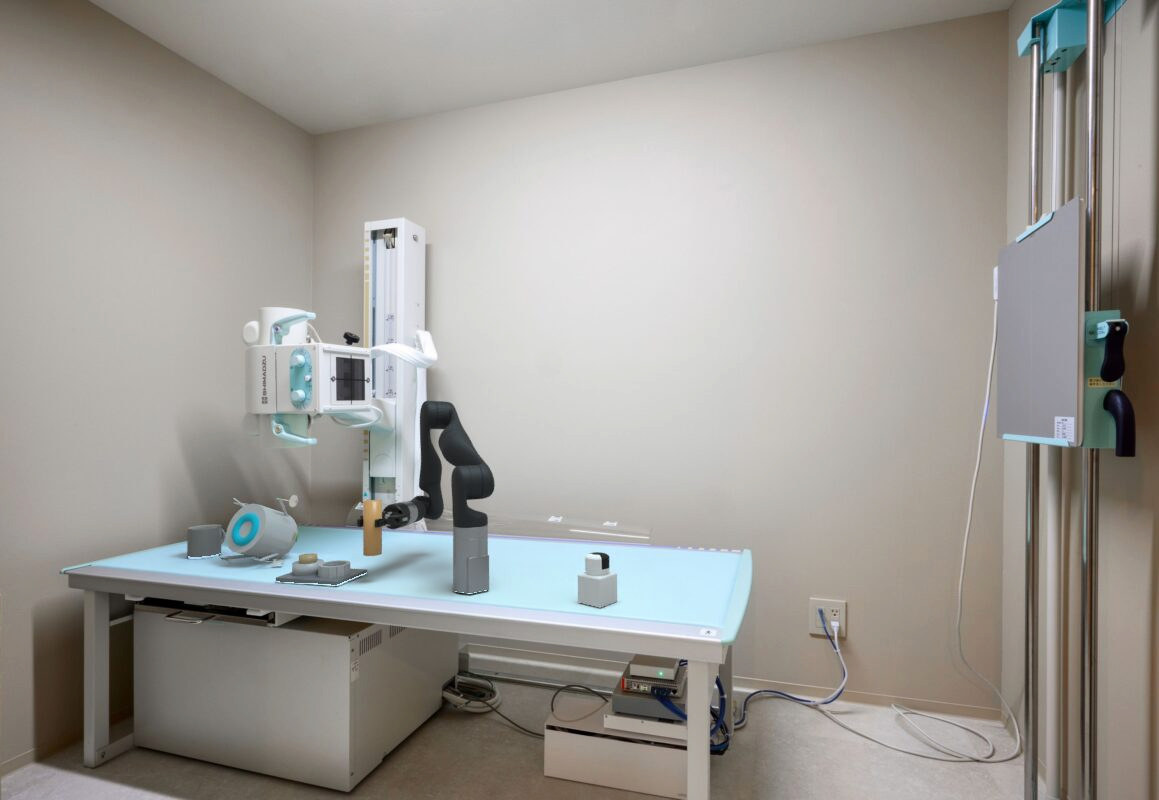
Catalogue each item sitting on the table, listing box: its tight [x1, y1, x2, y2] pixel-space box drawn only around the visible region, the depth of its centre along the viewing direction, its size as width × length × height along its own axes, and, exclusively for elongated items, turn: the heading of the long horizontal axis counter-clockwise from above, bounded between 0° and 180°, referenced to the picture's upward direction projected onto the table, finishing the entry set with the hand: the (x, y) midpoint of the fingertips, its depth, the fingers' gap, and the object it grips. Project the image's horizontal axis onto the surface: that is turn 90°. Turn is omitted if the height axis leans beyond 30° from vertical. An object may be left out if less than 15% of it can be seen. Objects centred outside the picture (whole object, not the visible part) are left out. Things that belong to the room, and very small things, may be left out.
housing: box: [275, 553, 368, 585], centre depth 173 cm, size 20×14×6 cm
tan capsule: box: [362, 499, 383, 557], centre depth 169 cm, size 5×5×15 cm
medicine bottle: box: [577, 551, 618, 609], centre depth 148 cm, size 7×7×12 cm
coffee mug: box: [186, 523, 226, 557], centre depth 206 cm, size 13×10×10 cm
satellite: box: [219, 494, 299, 567], centre depth 197 cm, size 23×20×25 cm
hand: (367, 523), depth 167 cm, fingers closed on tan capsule, 5 cm apart
